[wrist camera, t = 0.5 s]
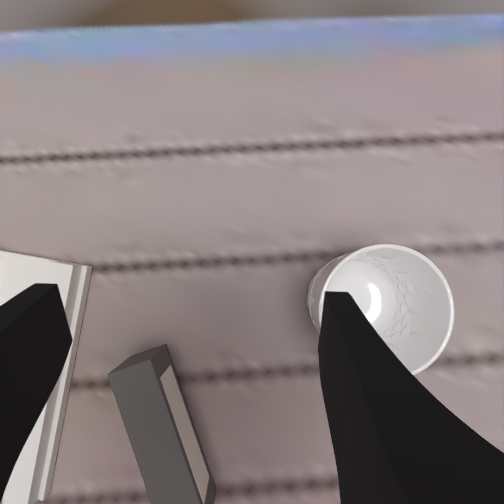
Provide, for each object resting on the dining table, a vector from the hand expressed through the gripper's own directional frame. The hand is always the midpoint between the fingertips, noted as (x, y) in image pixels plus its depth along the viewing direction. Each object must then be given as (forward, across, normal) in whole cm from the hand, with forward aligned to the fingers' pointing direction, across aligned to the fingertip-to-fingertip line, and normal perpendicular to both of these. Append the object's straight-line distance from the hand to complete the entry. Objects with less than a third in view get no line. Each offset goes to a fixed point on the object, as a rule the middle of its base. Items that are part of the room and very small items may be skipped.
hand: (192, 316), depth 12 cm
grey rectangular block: (+14, +5, +22) cm, 27 cm away
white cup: (+20, -9, +14) cm, 26 cm away
